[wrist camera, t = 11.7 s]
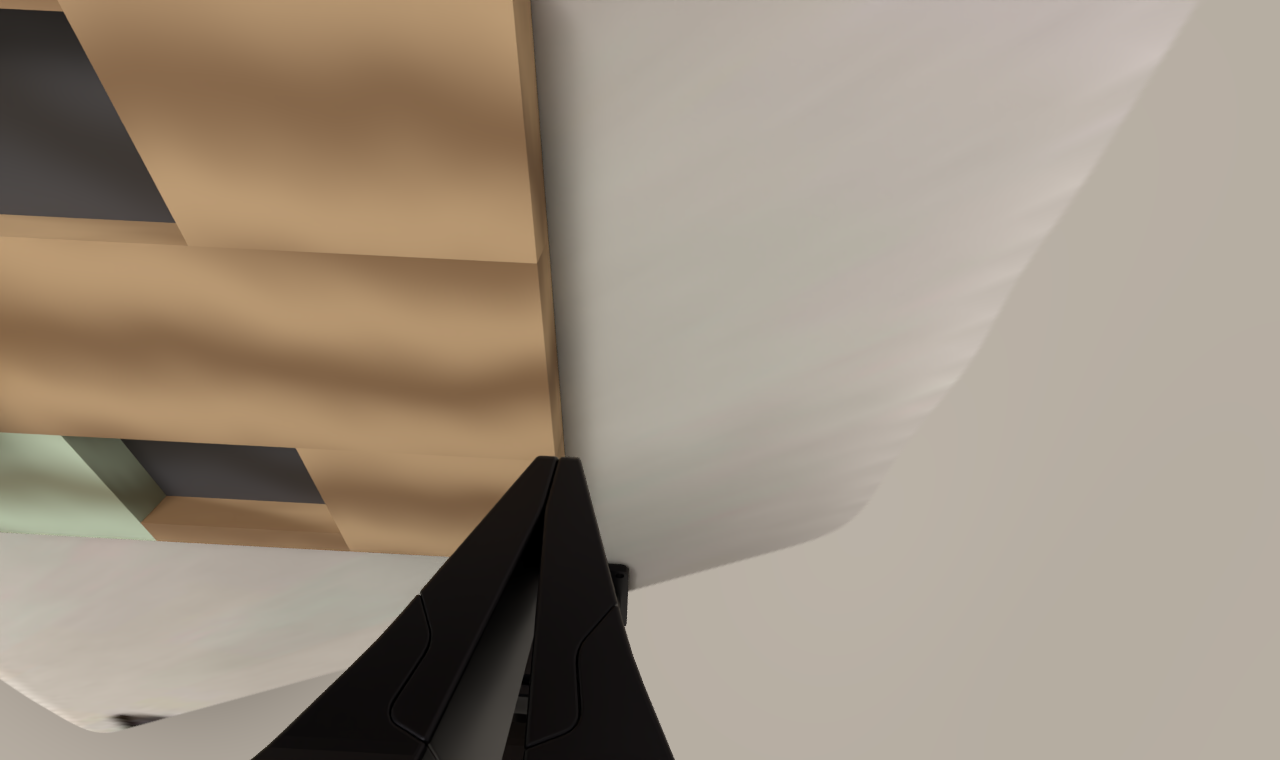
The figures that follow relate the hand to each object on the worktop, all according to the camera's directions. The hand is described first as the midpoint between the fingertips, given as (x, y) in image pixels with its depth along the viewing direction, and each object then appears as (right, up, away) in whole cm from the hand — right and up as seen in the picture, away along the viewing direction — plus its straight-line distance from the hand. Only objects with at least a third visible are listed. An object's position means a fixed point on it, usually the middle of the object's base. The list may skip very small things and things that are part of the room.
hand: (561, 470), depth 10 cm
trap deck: (-18, +4, +10) cm, 21 cm away
